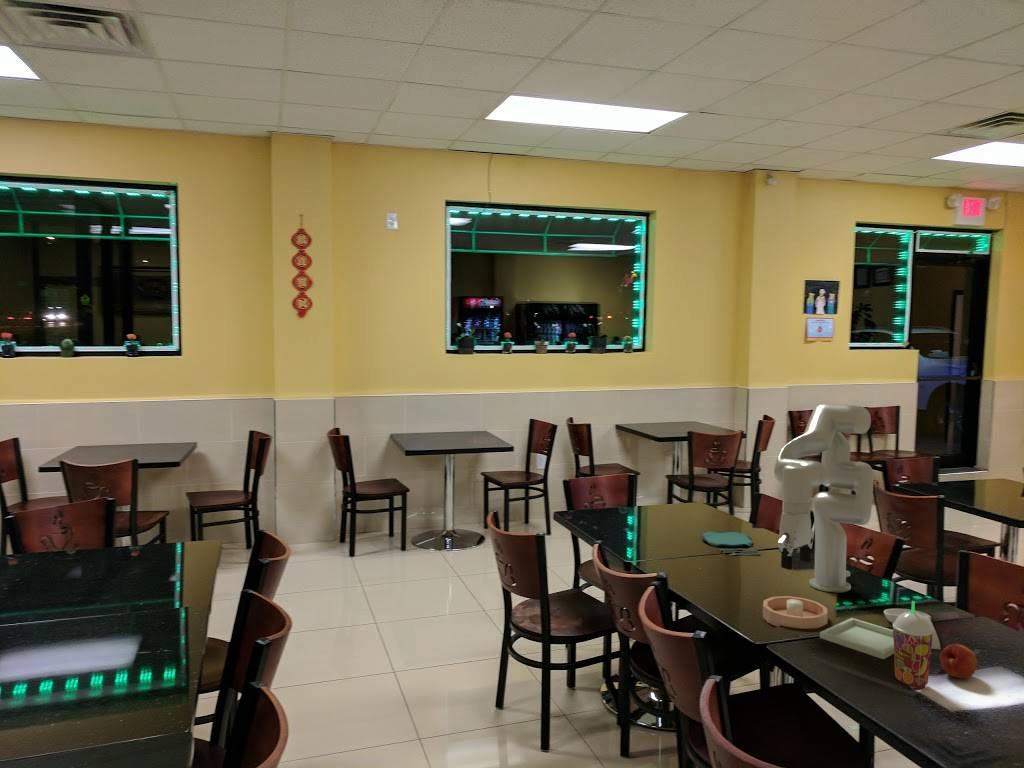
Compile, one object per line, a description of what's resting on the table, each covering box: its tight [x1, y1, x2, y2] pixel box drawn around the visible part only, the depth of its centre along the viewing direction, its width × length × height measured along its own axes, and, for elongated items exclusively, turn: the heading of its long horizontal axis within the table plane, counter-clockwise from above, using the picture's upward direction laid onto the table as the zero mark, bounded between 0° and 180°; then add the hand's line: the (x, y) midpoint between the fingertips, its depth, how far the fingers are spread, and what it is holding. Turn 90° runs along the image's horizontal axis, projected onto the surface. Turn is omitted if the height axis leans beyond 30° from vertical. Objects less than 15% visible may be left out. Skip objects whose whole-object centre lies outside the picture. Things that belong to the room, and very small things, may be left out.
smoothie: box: [892, 600, 933, 691], centre depth 168 cm, size 8×8×20 cm
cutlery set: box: [701, 531, 761, 556], centre depth 288 cm, size 20×30×2 cm, turn 177°
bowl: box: [762, 595, 829, 630], centre depth 208 cm, size 17×17×4 cm
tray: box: [819, 617, 894, 660], centre depth 192 cm, size 17×17×2 cm
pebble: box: [787, 599, 803, 617], centre depth 208 cm, size 4×4×4 cm
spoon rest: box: [883, 608, 942, 650], centre depth 198 cm, size 24×12×7 cm, turn 170°
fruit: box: [939, 643, 978, 680], centre depth 172 cm, size 8×8×8 cm
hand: (796, 564), depth 208 cm, fingers open, 9 cm apart
